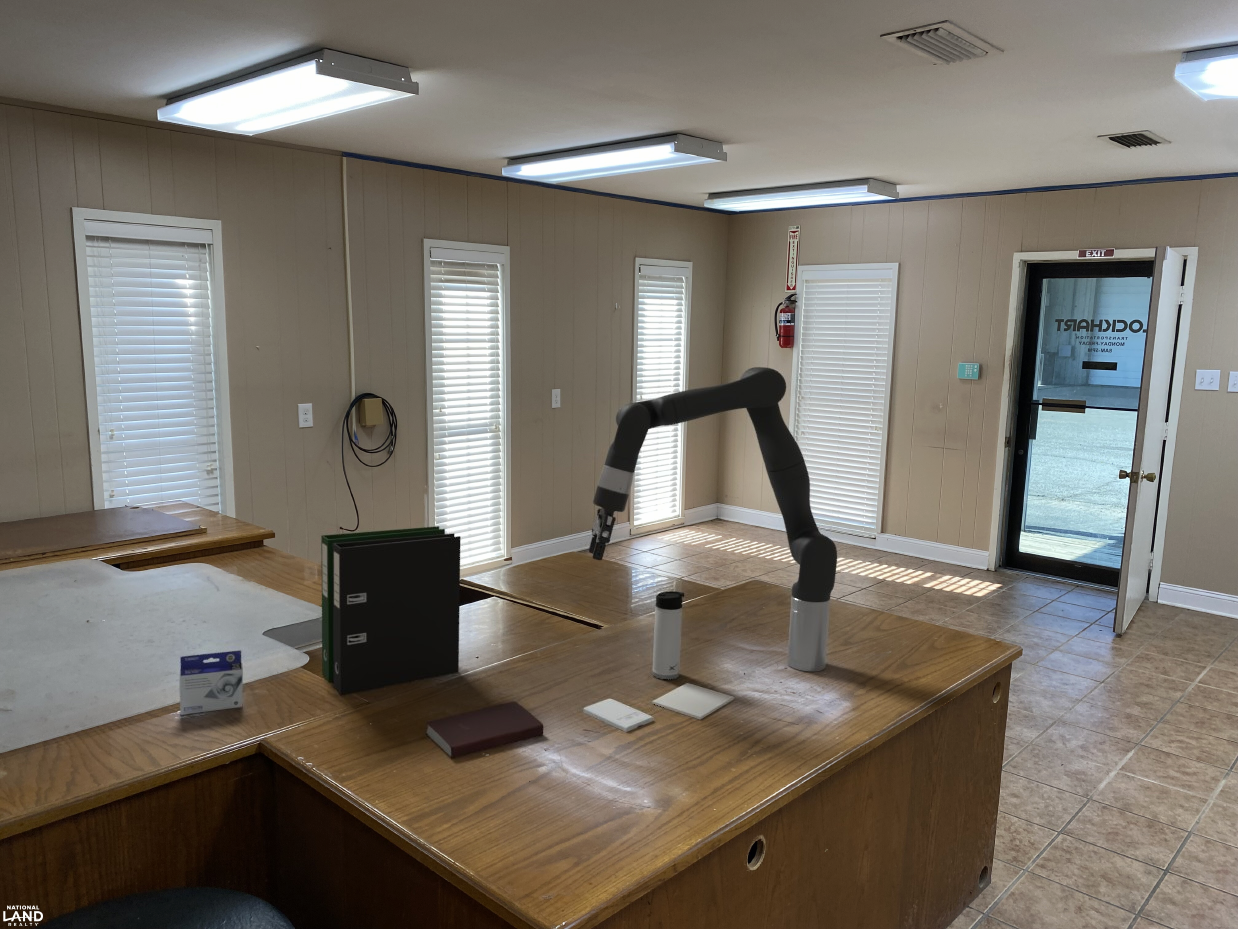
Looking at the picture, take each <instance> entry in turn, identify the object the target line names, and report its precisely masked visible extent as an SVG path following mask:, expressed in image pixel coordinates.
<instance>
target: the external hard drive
mask: <svg viewBox="0 0 1238 929" xmlns="http://www.w3.org/2000/svg"><path fill="white" fill-rule="evenodd" d="M582 713H584V714H586V715H587V716H590V717H592V718H595V719H596V718H597V719H596V720H599V721H601V722H603V723H605V724H607V725H610V726H611V727H614V728H616V729H618V730H621V731H623V732H625V733H628V732H630V731H633V730H635V729H637V728H638V727H640V726H644V725H646V724H649V723H652V722H654V719H655V718H654V717H655V716H654V717H653V716H651V715H650V714H647V713H644V712H643V711H640V710H638V709H636V708H634V707H631V706H628V705H627V704H624V703H622V702H620V701H619V700H618V701H617V700H615V699H612V698H607V699H604V700H602V701H601V700H600V701H598V702H596V703H593V704H591V705H587V706H585V707H584V708H583V710H582Z"/></svg>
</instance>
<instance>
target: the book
mask: <svg viewBox="0 0 1238 929" xmlns="http://www.w3.org/2000/svg"><path fill="white" fill-rule="evenodd" d="M425 724H426V725H427V728H426V729H427V730H426V732H424V734H425V735H426V736H428V737H429V738H430V739H431V740H433V741H434V742H435V744H437V745H438V746H439V747H440V748H441V749H442V750H443V751H444V752H445V753H446V754H447V755H448V756H450V759H456V758H457V759H458V758H460V757H464V756H466V755H467V756H468V755H471V754H475V753H479V752H482V751H487V750H490V749H495V748H499V747H503V746H507V745H511V744H515V743H518V742H523V741H526V740H532V739H535V738H540V737H543V736H544V724H543V723H542V721H540V720H539V719H538V718H537V717H535V715H533V714H532V713H531V712H529V710H527V709H526V708H525V707H523V706H522V704H519V703H518V702H517V701H509V702H504V703H499V704H495V705H492V706H488V707H484V708H480V709H475V710H471V711H468V712H464V713H463V712H462V713H459V714H455V715H450V716H445V717H441V718H436V719H433V720H432V719H431V720H429V721H428V720H427V721H426V723H425Z"/></svg>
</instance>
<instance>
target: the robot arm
mask: <svg viewBox="0 0 1238 929" xmlns="http://www.w3.org/2000/svg"><path fill="white" fill-rule="evenodd" d="M786 391H787V382H786V380H785V377H784V376H783V375H782V373H780V372H779V371H777V370H775V369H774V368H770V367H766V366H765V367H761V366H754V367H750V368H747V369H746V370H745V371H744V372H743V373H742V375H741V376H740V379H737V380H734V381H732V382H727V383H723V384H719V385H712V386H705V387H699V388H691V389H687V390H682V391H678V392H673V393H670V394H667V395H663V396H659V397H657V398H653V399H646V400H641V401H637V402H630V403H627V404H624V405H623V406H620V408H619V409H618V411H617V412H616V415H615V422H616V425H617V428H616V432H615V436H614V439H613V442H612V443H611V444H610V446H609V448H608V451H607V454H606V458H605V461H604V465H603V468H602V470H601V473H600V475H599V479H598V483H597V486H596V490H595V493H594V496H593V500H592V504H594V505H595V506H597V507H599V508H598V509H597V512H596V515H595V519H594V522H593V526H592V529H591V536H592V537H591V540H590V543H589V547H588V552H589V554H592V556H591V557H592V559H594V560H597V561H602V560H603V558H604V554H605V550H606V547H607V545H608V544H610V542H611V537H612V533H613V529H614V527H615V523H616V517H614V515H615V512H618V513H624V512H625V510H626V506H627V503H628V499H629V496H630V493H631V489H632V485H633V480H634V474H635V470H636V467H637V463H638V460H639V454H640V452H641V449H642V447H643V445H644V442H645V441H646V437H647V435H648V432H649V430H650V429H654V428H658V427H663V426H664V427H665V426H673V425H678V424H683V423H686V422H689V421H694V420H697V419H701V418H705V417H707V416H709V417H710V416H712V415H717V414H719V413H724V412H728V411H729V412H730V411H734V410H740V409H746V412H747V413H748V416H749V418H750V420H751V423H752V426H753V428H754V431H755V435H756V438H757V439H756V440H757V443H758V446H759V449H760V453H761V457H762V460H763V463H764V467H765V470H766V471H765V472H766V474H767V477H768V480H769V482H770V485H771V488H772V491H773V494H774V497H775V500H776V502H777V505H778V508H779V511H780V513H781V516H782V520H783V523H784V528H785V532H786V536H787V537H786V538H787V542H788V547H789V551H790V555H791V557H792V559H793V560H794V561H795V562H796V564H798V565H799V570H798V579H797V581H796V582H794V583H793V584H792V586H791V596H790V597H791V598H790V613H789V631H788V645H787V661H786V663H787V665H788V666H789V667H790V668H793V669H795V670H799V671H804V672H820V671H823V670H824V669H826V662H827V650H828V649H827V648H828V639H829V638H828V636H829V635H828V634H829V622H830V621H829V620H830V607H831V593H832V591H833V589H834V588H835V582H836V573H837V565H838V564H837V563H838V550H837V546H836V543H835V542H834V541H833V540H832V539H831V538H829V537H828V536H827V535H825V534H822V533H821V532H820V530H819V527H818V526H817V523H816V520H815V518H814V515H813V511H812V508H811V502H810V501H811V498H810V497H811V496H810V495H811V482H810V481H811V480H810V475H809V470H808V467H807V464H806V462H805V458H804V456H803V453H802V451H801V448H800V446H799V444H798V443H797V440H796V439H795V437H794V435H793V434H792V433H791V431H790V429H789V427H788V426H787V425H786V423H785V421H784V418H783V415H782V412H781V409H780V405H779V403H780V402H781V401H782V400H783V399H784V396H785V395H786Z"/></svg>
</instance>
